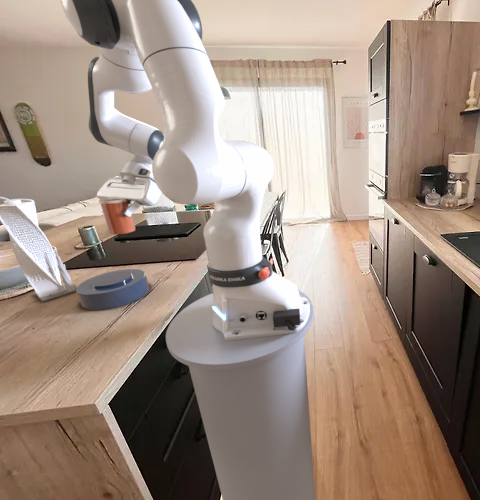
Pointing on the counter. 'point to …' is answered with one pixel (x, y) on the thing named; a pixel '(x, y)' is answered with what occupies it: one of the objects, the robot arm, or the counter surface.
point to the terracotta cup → (117, 215)
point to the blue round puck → (112, 289)
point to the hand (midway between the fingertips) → (115, 214)
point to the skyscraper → (34, 250)
